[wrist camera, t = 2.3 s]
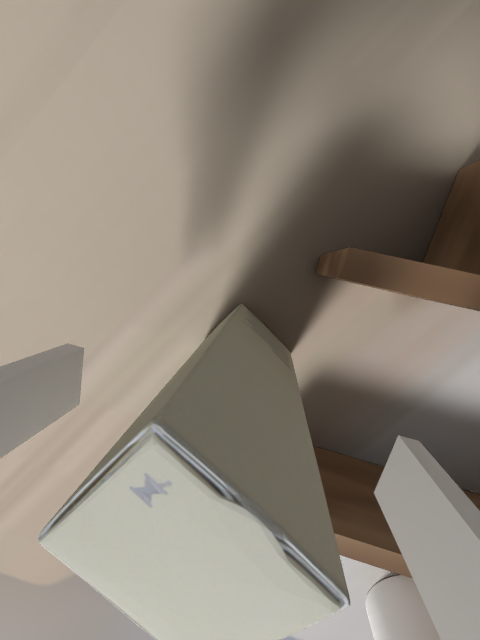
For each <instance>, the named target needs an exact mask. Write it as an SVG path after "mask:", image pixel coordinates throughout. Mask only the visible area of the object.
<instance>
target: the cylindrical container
mask: <svg viewBox="0 0 480 640" xmlns="http://www.w3.org/2000/svg"><path fill="white" fill-rule="evenodd" d="M365 606H366V610H367V614H368V618H369V622H370V625H371V629H372V633H373V637H374V640H441V639H440V637H439V635H438V632H437V630H436V628H435V626H434V624H433V621H432V619H431V617H430V615H429V613H428V610H427V608H426V606H425V604H424V602H423V600H422V597H421V595H420V593H419V591H418V589H417V586H416V584H415V582H414V580H413V579H412V578H409V577H406V576H403V575H398V576H393V577H389V578H387V579H384V580H382V581H380V582H378V583H377V584H376V585H374V586H373V587H372V588H371V590H370V591H369V593H368V595H367V597H366V605H365Z"/></svg>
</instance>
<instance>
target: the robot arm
mask: <svg viewBox="0 0 480 640" xmlns="http://www.w3.org/2000/svg"><path fill="white" fill-rule="evenodd" d="M83 355H84V348H83V347H79V346H75V345H72V344H65V345H62V346H59V347H56V348H53V349H50V350H48V351H45V352H42V353H39V354H36V355H33V356H30V357H27V358H24V359H22V360H19V361H16V362H13V363H10V364H7V365H4V366H1V367H0V458H2V457H3V456H5V455H6V454H7V453H9V452H10V451H12V450H13V449H15V448H16V447H18V446H19V445H21V444H22V443H24V442H25V441H27V440H28V439H29V438H31V437H32V436H34V435H35V434H37V433H38V432H40V431H41V430H43V429H44V428H46V427H47V426H48V425H50V424H51V423H53V422H54V421H56V420H57V419H59V418H60V417H62V416H63V415H65V414H66V413H68V412H69V411H70V410H72V409H73V408H75V407H76V406H78V405H79V402H80V390H81V379H82V367H83ZM374 494H375V497H376V499H377V501H378V503H379V505H380V507H381V510H382V512H383V514H384V516H385V518H386V521H387V523H388V525H389V527H390V529H391V532H392V534H393V536H394V538H395V540H396V543H397V545H398V547H399V549H400V551H401V553H402V556H403V558H404V560H405V562H406V564H407V567H408V569H409V571H410V573H411V575H412V578H413V580H414V582H415V584H416V586H417V589H418V591H419V593H420V595H421V597H422V600H423V602H424V604H425V606H426V608H427V610H428V613H429V615H430V617H431V619H432V621H433V624H434V626H435V628H436V630H437V632H438V635H439V637H440V639H441V640H480V511H479V509H478V508H477V507H476V506H475V505H474V504H473V503H472V501H471V500H470V499H469V498H468V497H467V496H466V494H465V493H464V492H463V491H462V490H461V489H460V488H459V486H458V485H457V484H456V483H455V482H454V481H453V479H452V478H451V477H450V476H449V475H448V474H447V473H446V471H445V470H444V469H443V468H442V467H441V466H440V464H439V463H438V462H437V461H436V460H435V459H434V457H433V456H432V455H431V454H430V453H429V452H428V451H427V449H426V448H425V447H424V446H423V445H422V444H421V442H420V441H418V440H414V439H411V438H407V437H403V436H400V435H398V437H397V440H396V442H395V444H394V447H393V449H392V451H391V454H390V456H389V458H388V461H387V463H386V465H385V468H384V470H383V472H382V475H381V477H380V479H379V482H378V484H377V486H376V489H375V491H374Z"/></svg>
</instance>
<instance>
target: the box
mask: <svg viewBox="0 0 480 640" xmlns="http://www.w3.org/2000/svg"><path fill="white" fill-rule="evenodd" d="M38 539H39V543H40V545H41V546H42V547H44V548H45V549H46V550H47V551H48V552H50V553H51V554H52V555H54V556H55V557H56V558H58V559H59V560H60V561H62V562H63V563H64V564H65V565H66V566H68V567H69V568H70V569H71V570H72V571H73V572H74V573H76V574H77V575H78V576H79V577H81V578H82V579H83V580H85V581H86V582H87V583H88V584H89V585H90V586H92V587H93V588H94V589H95V590H96V591H97V592H99V593H100V594H101V595H102V596H103V597H105V598H106V599H107V600H108V601H109V602H111V603H112V604H113V605H114V606H115V607H117V608H118V609H119V610H120V611H122V612H123V613H124V614H125V615H126V616H127V617H128V618H130V619H131V620H132V621H133V622H134V623H136V624H137V625H138V626H139V627H140V628H142V629H143V630H144V631H146V632H147V633H148V634H150V635H151V636H152V637H153V638H155V639H156V640H281V639H283V638H286V637H288V636H289V635H291V634H293V633H296V632H298V631H300V630H303V629H305V628H307V627H309V626H311V625H313V624H315V623H317V622H319V621H321V620H323V619H325V618H328V617H330V616H332V615H334V614H336V613H337V612H339V611H341V610H343V609H345V608H346V607H348V606H350V598H349V593H348V589H347V585H346V581H345V577H344V573H343V569H342V564H341V560H340V556H339V552H338V547H337V543H336V539H335V535H334V531H333V527H332V523H331V519H330V514H329V510H328V506H327V502H326V498H325V493H324V489H323V485H322V481H321V477H320V473H319V469H318V465H317V461H316V457H315V453H314V449H313V444H312V440H311V436H310V432H309V428H308V424H307V420H306V416H305V411H304V407H303V403H302V399H301V395H300V391H299V387H298V383H297V379H296V374H295V370H294V366H293V362H292V358H291V354H290V352H289V351H288V349H287V348H286V347H285V346H284V345H283V344H282V343H281V342H280V341H279V340H278V339H277V338H276V337H275V336H274V335H273V334H272V333H271V332H270V330H269V329H268V328H267V327H266V326H265V325H264V324H262V323H261V322H260V321H259V320H258V319H257V318H256V317H255V316H254V315H253V314H252V313H251V312H250V311H249V310H248V309H247V308H246V307H245V306H244V305H242V304H239V305H238V306H237V307H236V308H235V309H234V310H233V311H232V312H231V313H230V314H229V315H228V316H227V317H226V318H225V319H224V320H223V321H222V322H221V323H220V324H219V325H218V326H217V327H216V328H215V329H214V330H213V331H212V333H211V334H210V335H209V336H208V337H207V338H206V339H205V340H204V341H203V342H202V344H201V345H200V346H199V347H198V348H197V350H196V351H195V352H194V353H193V354H192V355H191V357H190V358H189V359H188V360H187V361H186V362H185V364H184V365H183V366H182V367H181V368H180V369H179V370H178V372H177V373H176V374H175V375H174V376H173V377H172V379H171V380H170V381H169V382H168V383H167V384H166V386H165V387H164V388H163V389H162V390H161V391H160V393H159V394H158V395H157V396H156V397H155V398H154V399H153V401H152V402H151V403H150V404H149V405H148V406H147V408H146V409H145V410H144V411H143V412H142V413H141V415H140V416H139V417H138V418H137V419H136V420H135V422H134V423H133V424H132V425H131V426H130V427H129V429H128V430H127V431H126V432H125V433H124V434H123V436H122V437H121V438H120V439H119V440H118V441H117V443H116V444H115V445H114V446H113V447H112V448H111V450H110V451H109V452H108V453H107V454H106V455H105V457H104V458H103V459H102V460H101V461H100V462H99V464H98V465H97V466H96V467H95V468H94V470H93V471H92V472H91V473H90V474H89V476H88V477H87V478H86V479H85V480H84V481H83V483H82V484H81V485H80V486H79V487H78V489H77V490H76V491H75V492H74V493H73V495H72V496H71V497H70V498H69V499H68V500H67V502H66V503H65V504H64V505H63V506H62V507H61V509H60V510H59V511H58V512H57V513H56V515H55V516H54V517H53V518H52V519H51V520H50V522H49V523H48V524H47V525H46V526H45V527H44V529H43V530H42V531H41V533H40V535H39V538H38Z"/></svg>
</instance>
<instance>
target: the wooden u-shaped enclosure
mask: <svg viewBox="0 0 480 640" xmlns="http://www.w3.org/2000/svg"><path fill="white" fill-rule="evenodd" d="M315 274H317V275H321V276H325V277H330V278H334V279H338V280H343V281H347V282H351V283H356V284H360V285H365V286H369V287H373V288H378V289H382V290H386V291H391V292H395V293H399V294H404V295H408V296H413V297H417V298H421V299H426V300H430V301H435V302H439V303H444V304H449V305H454V306H458V307H463V308H468V309H473V310H477V311H480V160H478V161H476V162H474V163H472V164H470V165H468V166H466V167H465V168H463V169H461V170H459V171H458V174H457V176H456V179H455V182H454V184H453V187H452V189H451V192H450V194H449V197H448V199H447V202H446V204H445V207H444V209H443V212H442V214H441V217H440V219H439V222H438V225H437V227H436V230H435V232H434V235H433V237H432V240H431V242H430V245H429V247H428V250H427V252H426V255H425V257H424V260H423V263H421V262H417V261H412V260H408V259H403V258H398V257H394V256H389V255H385V254H380V253H375V252H371V251H366V250H362V249H357V248H352V247H348V248H345V249H341V250H337V251H334V252H330V253H326V254H323V255H321V256H320V259H319V263H318V266H317V270H316V273H315ZM313 449H314V453H315V457H316V461H317V465H318V469H319V473H320V477H321V481H322V485H323V489H324V493H325V498H326V502H327V506H328V510H329V514H330V519H331V523H332V527H333V531H334V535H335V539H336V543H337V547H338V552H339V555H342V556H345V557H348V558H351V559H354V560H357V561H360V562H363V563H366V564H369V565H372V566H376V567H379V568H382V569H385V570H388V571H391V572H394V573H397V574H400V575H403V576H406V577H409V578H412V575H411V573H410V571H409V569H408V567H407V564H406V562H405V560H404V558H403V556H402V553H401V551H400V549H399V547H398V545H397V543H396V540H395V538H394V536H393V534H392V532H391V529H390V527H389V525H388V523H387V521H386V518H385V516H384V514H383V512H382V510H381V507H380V505H379V503H378V501H377V499H376V497H375V494H374V491H375V489H376V486H377V484H378V482H379V479H380V477H381V475H382V472H383V470H384V468H385V467H383V466H380V465H377V464H373V463H370V462H366V461H363V460H359V459H356V458H352V457H349V456H346V455H342V454H339V453H335V452H332V451H328V450H325V449H321V448H318V447H315V446H313ZM461 490H462V491H463V492H464V493H465V494H466V496H467V497H468V498H469V499H470V500H471V501H472V503H473V504H474V505H475V506H476V507H477V508H478V509H479V511H480V494H477V493H473V492H470V491H466V490H463V489H461ZM412 579H413V578H412Z"/></svg>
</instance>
